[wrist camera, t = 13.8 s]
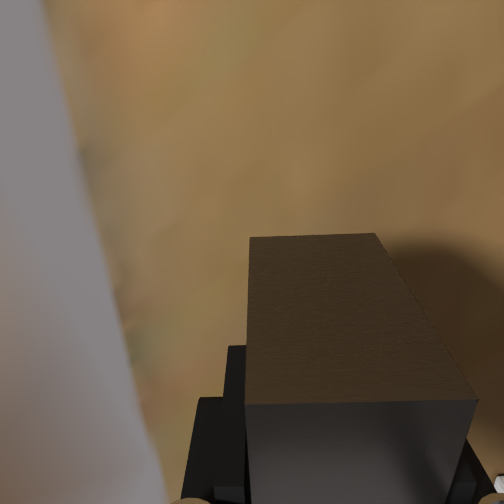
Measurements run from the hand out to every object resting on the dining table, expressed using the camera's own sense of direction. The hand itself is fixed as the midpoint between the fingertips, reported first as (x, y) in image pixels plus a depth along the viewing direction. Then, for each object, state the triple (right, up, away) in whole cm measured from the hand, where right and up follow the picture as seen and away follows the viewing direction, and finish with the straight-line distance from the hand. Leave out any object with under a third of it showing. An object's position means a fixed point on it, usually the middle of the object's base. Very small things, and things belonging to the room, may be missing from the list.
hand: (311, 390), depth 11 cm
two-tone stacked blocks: (0, -2, +2) cm, 3 cm away
